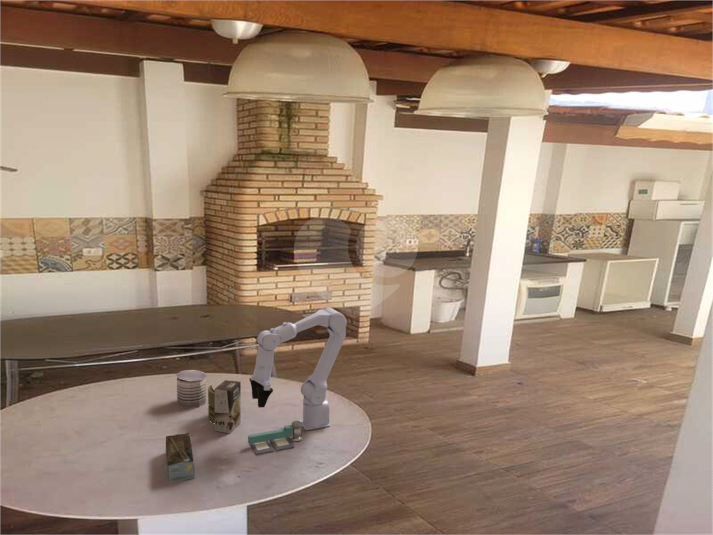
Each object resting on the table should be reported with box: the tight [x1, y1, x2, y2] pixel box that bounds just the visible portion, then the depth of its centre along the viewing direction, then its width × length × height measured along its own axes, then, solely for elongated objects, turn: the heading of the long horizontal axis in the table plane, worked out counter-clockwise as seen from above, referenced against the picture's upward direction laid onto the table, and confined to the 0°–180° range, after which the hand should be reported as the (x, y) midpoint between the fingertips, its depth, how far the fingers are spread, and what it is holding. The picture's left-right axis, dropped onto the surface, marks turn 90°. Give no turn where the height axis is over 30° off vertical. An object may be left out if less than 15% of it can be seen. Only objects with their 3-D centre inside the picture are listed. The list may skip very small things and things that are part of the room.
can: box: [175, 369, 208, 409], centre depth 220 cm, size 11×11×12 cm
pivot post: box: [288, 427, 305, 443], centre depth 195 cm, size 5×5×4 cm
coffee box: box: [214, 379, 242, 434], centre depth 201 cm, size 9×6×16 cm
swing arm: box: [247, 420, 303, 445], centre depth 192 cm, size 19×4×4 cm, turn 115°
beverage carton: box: [165, 432, 195, 483], centre depth 176 cm, size 8×19×7 cm, turn 20°
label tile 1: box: [249, 441, 275, 456], centre depth 189 cm, size 6×10×1 cm, turn 25°
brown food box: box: [207, 384, 215, 424], centre depth 208 cm, size 11×12×11 cm
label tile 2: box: [269, 437, 295, 452], centre depth 192 cm, size 6×10×1 cm, turn 25°
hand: (258, 402), depth 195 cm, fingers open, 7 cm apart
